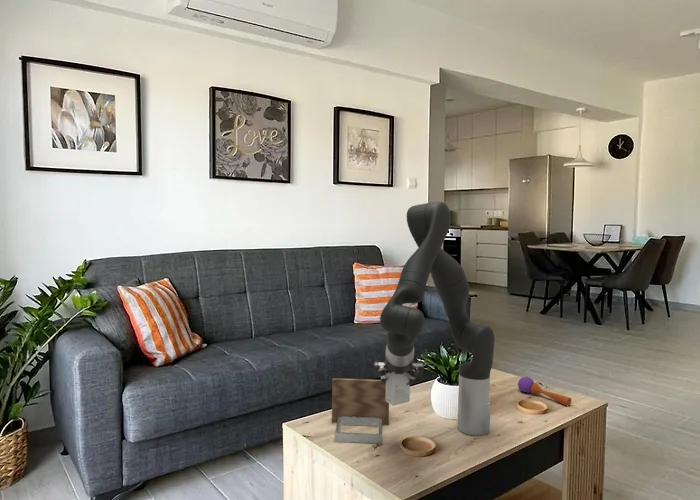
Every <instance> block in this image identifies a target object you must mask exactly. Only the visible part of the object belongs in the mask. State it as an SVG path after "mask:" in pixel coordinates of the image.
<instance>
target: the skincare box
mask: <svg viewBox="0 0 700 500" xmlns="http://www.w3.org/2000/svg"><path fill="white" fill-rule="evenodd" d="M410 391H411V385H410V377H409V378H408V377H406V376H405V375H404V374H393V375H391V376H390V377H386V399H385V400H386V402H388V403H389V405H392V406H397V405H402V404H406V403H409V402H410V400H411V399H410V397H411V392H410Z"/></svg>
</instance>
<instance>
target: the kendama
mask: <svg viewBox="0 0 700 500" xmlns="http://www.w3.org/2000/svg"><path fill="white" fill-rule="evenodd" d="M517 387H518V389H519V390H520V392H522V391H523V392H522V393H524V392H527V393H526V394H530V393H529V392H531V394H532V393H533V395H535V394H536V395H537V394H543V395H544V396H546V397H548V398H549V399H550V398H551V400H554V401H556V402H558V403H560V404H561V403H562V405H563V404H564V405H563V406H565V405H569V404H570V405H571V404H572V397H568V396H565V395H563V394H558V393H555V392H551V391H547V390H544V389H542V387H540V386H539V384H538V383H537V382H535V381H534V379H532V378H530V377H528V376H523V377H521V378H519V380H518V381H517Z"/></svg>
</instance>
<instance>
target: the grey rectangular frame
mask: <svg viewBox="0 0 700 500" xmlns="http://www.w3.org/2000/svg"><path fill="white" fill-rule="evenodd" d="M342 425H343V426H363V425H364V427H365V426H366V425H367V426H366V427H378V433H364V432H363V433H361V432H342V431H341V426H342ZM382 427H383V425H382V418H379V417H355V416H339V417H338V421H337V423H336V428H335V431H334V442H335V443H339V442H340V443H358V444H362V443H363V444H382V441H383V428H382ZM340 431H341V432H340Z"/></svg>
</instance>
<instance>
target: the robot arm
mask: <svg viewBox="0 0 700 500" xmlns="http://www.w3.org/2000/svg"><path fill="white" fill-rule="evenodd" d="M451 221H452V214H451V211H450V209H449V206H448V205H447V204H446V203H445V202H443V201H432V202H425V203H421V204H416V205H412V206H411V207H409V208H408V209H407V213H406V223H407V227H408V229H409V231H410V232H409V233H410V234H411V236H412V238H413V241H414V242H415V244H416V246H417V247H418V248H417V249H416V250H415V251H414V253H412V255H411V256H410V257H409V258H408V259H407V260H406V262H405V264H404V266H403V267H402V270H401V273H400V276H399V279H398V283H397V286H396V288H395V290H394V293H393V294H392V296H391V297H390V299H389V300H388V302H387V303H386V305H384V307H383V309H382V311H381V314H380V316H379V322H380V323H379V324H380V326H381V328H382V329H383V330H384V331H386V332H387V335H386V336H387V337H386V346H385V360H384V361H383V362H380V360H378V359H375V360H374V362H373V363H374V364H373V366H374V367H373V369H374V372H373V373H374V378H380V380H381V382H383V384H386V377H390V376H391V375H393V374H404V375H405V376H406V377H408V378H409V377H410V386H411V385H413V384H414V383H415V381H416V379H422V378H423V375H424V370H425V368H424V361H423V360H419V361H418V362H417V363H415V362H414V358H415V357H414V356H415V340H416V339H417V338H418V337H419V335H420V333H421V332H422V330H423V329H424V326H425V325H424V324H425V316H424V313H423V312H422V311H421V310H420V309H418V308H415V307H412V306H407V305H406V304H418V303H420V302H421V301H422V300H423V299H424V295H425V292H426V289H427V284H428V282H429V281H428V280H429V277H430V275H431V278H432V281H433V283H434V286H435V288H436V291H437V294H438V295H439V298H440V300H441V304H442V305H443V308H444V310H445V313H446V314H445V315H446V317H447V318H448V319H447V320H448V323H449V326H450V329H451V333H452V337H453V340H454V342H455V345H456V346H457V347H458V348H459V350H461V351H462V352H463V351H464V352H466V353H469V354H472V357H471V361H467V362H466V361H465V362H463V363H462V364H460V365H459V369H458V372H459V374H458V398H457V401H458V402H457V404H458V405H457V421H456V422H457V424H456V425H457V429H458V431H460V432H461V433H463V434H465V435H469V436H484V435H486V434H487V435H489V434H491V433H490V428H491V427H490V426H491V406H492V405H491V402H490V385H491V384H490V381H491V370H492V368H493V363H494V351H495V332H494V330H493V329H492V327H490V326H488V325H485V324H481V323H476V322H472V320H471V319H470V317H469V315H468V313H467V309H466V305H467V302H468V298H469V295H470V285H469V281H468V279H467V277H466V274H465V270H464V269H463V267H462V266H461V264H460V263H459V262H458V261H457V260H456V259H455V258H454V257H452V256H451V255H450V254H448V253H447V251H445V250H444V249H443V246H442V245H443V244H444V242H445V240H446V237H447V235H448V233H449V230H450V227H451ZM415 369H416V370H415Z"/></svg>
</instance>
